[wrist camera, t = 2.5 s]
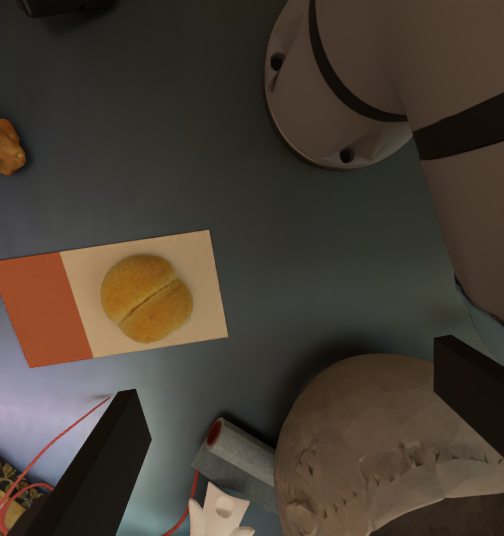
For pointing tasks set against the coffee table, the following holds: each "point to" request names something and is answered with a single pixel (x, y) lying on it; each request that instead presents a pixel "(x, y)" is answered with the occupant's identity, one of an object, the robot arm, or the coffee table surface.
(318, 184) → the coffee table surface
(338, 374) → the bowl
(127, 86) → the coffee table surface
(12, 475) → the decorative block
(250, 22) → the coffee table surface
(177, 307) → the bread roll
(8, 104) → the coffee table surface
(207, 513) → the figurine
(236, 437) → the aluminum foil
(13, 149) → the figurine
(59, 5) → the external hard drive
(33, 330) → the placemat
